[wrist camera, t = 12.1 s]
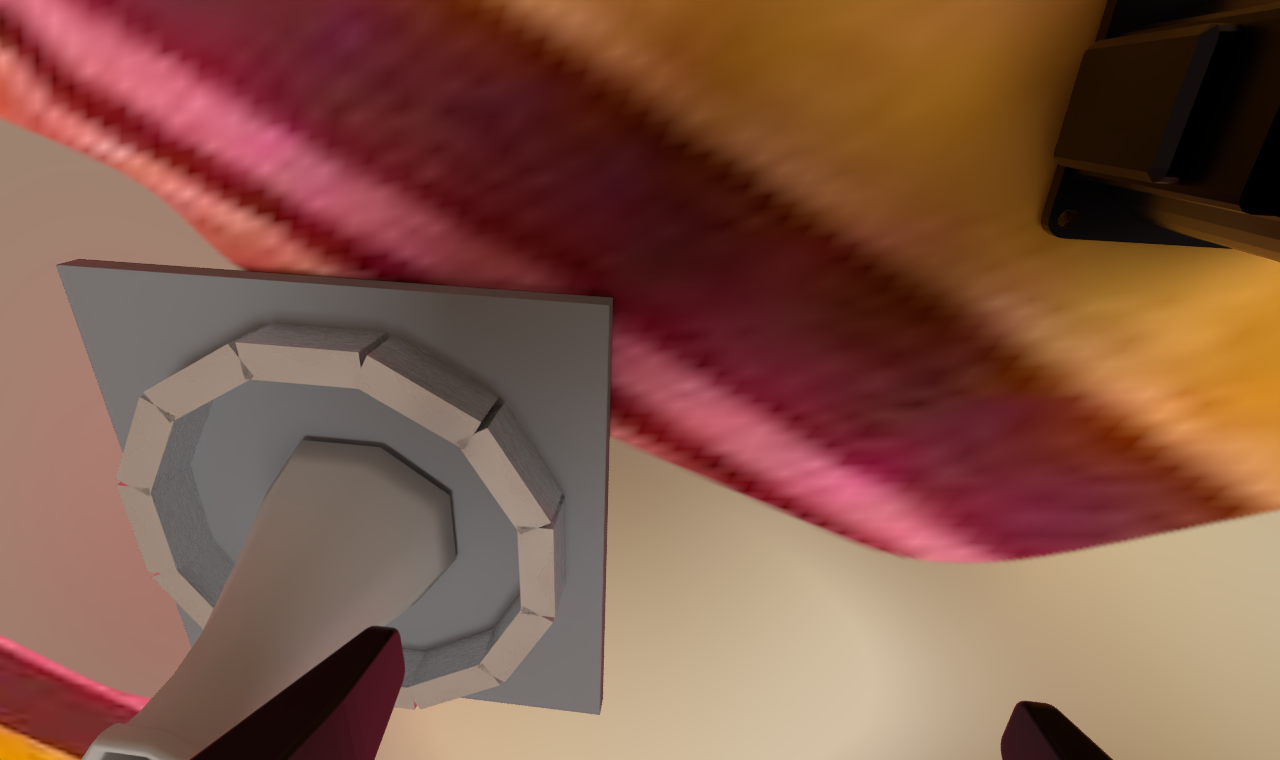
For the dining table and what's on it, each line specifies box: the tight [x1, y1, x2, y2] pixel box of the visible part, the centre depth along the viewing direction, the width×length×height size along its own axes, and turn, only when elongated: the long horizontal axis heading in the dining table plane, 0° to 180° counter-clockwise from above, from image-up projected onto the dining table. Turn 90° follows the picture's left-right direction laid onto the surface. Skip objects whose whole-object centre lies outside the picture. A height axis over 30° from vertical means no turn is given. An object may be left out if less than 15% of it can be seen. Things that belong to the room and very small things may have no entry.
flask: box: [82, 440, 456, 760], centre depth 18 cm, size 7×7×10 cm
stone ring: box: [116, 322, 566, 709], centre depth 22 cm, size 15×15×2 cm
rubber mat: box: [56, 259, 613, 715], centre depth 23 cm, size 18×18×1 cm
